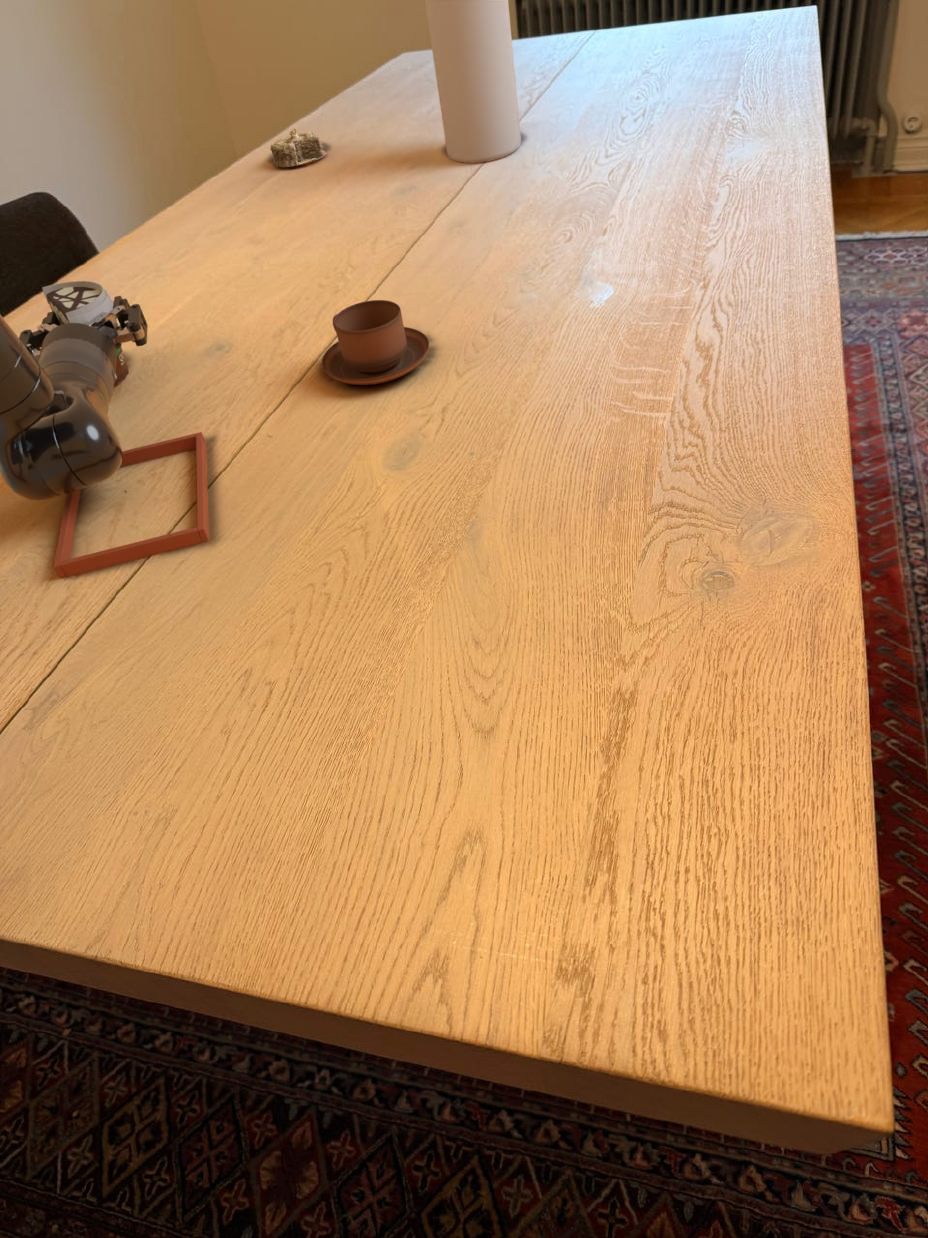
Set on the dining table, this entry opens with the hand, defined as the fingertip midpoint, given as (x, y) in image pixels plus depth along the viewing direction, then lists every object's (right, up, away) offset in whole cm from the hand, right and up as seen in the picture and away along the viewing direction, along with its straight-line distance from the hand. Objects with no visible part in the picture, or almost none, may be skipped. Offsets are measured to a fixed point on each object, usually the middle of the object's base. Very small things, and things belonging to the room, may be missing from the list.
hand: (88, 311), depth 107 cm
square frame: (+14, -26, -21) cm, 36 cm away
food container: (+2, -6, +3) cm, 8 cm away
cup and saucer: (+35, -8, -5) cm, 36 cm away
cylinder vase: (+48, +42, +46) cm, 78 cm away
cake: (+15, +47, +57) cm, 76 cm away
